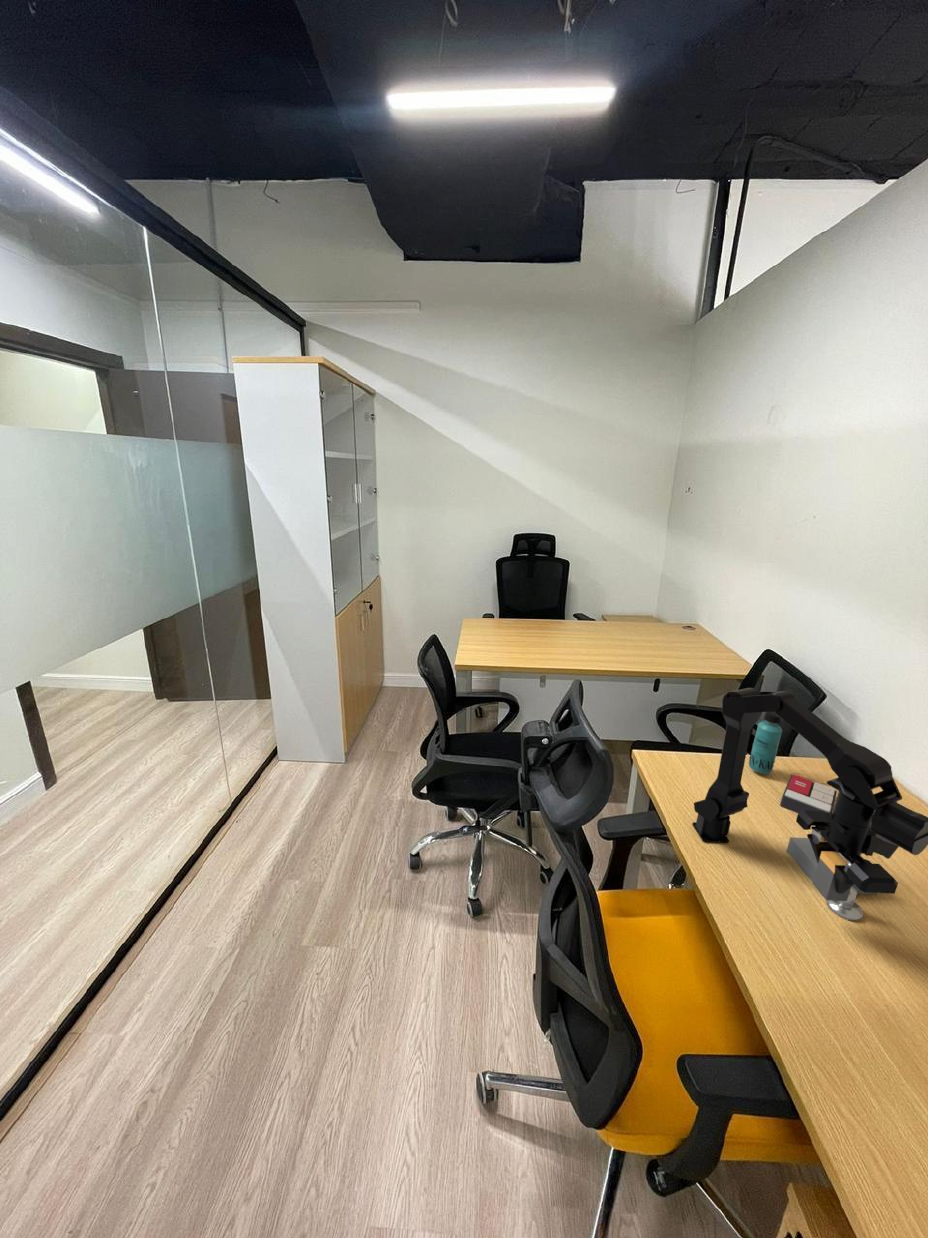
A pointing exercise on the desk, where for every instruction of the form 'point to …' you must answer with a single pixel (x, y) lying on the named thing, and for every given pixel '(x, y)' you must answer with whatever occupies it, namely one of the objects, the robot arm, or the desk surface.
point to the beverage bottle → (765, 744)
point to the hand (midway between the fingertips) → (831, 883)
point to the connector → (829, 876)
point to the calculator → (807, 796)
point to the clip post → (847, 907)
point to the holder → (807, 858)
